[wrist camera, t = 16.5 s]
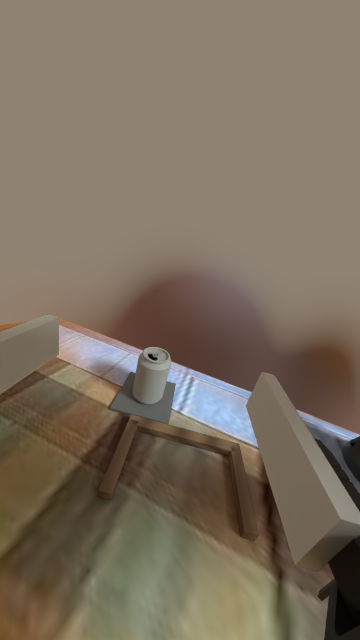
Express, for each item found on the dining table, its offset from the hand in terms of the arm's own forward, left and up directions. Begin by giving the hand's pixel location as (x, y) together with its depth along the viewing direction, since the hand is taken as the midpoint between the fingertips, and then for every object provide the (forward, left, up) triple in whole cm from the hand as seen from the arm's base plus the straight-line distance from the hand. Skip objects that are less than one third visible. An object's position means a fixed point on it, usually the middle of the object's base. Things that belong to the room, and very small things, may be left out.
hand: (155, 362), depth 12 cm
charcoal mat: (+3, -26, -28) cm, 38 cm away
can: (+3, -26, -27) cm, 37 cm away
